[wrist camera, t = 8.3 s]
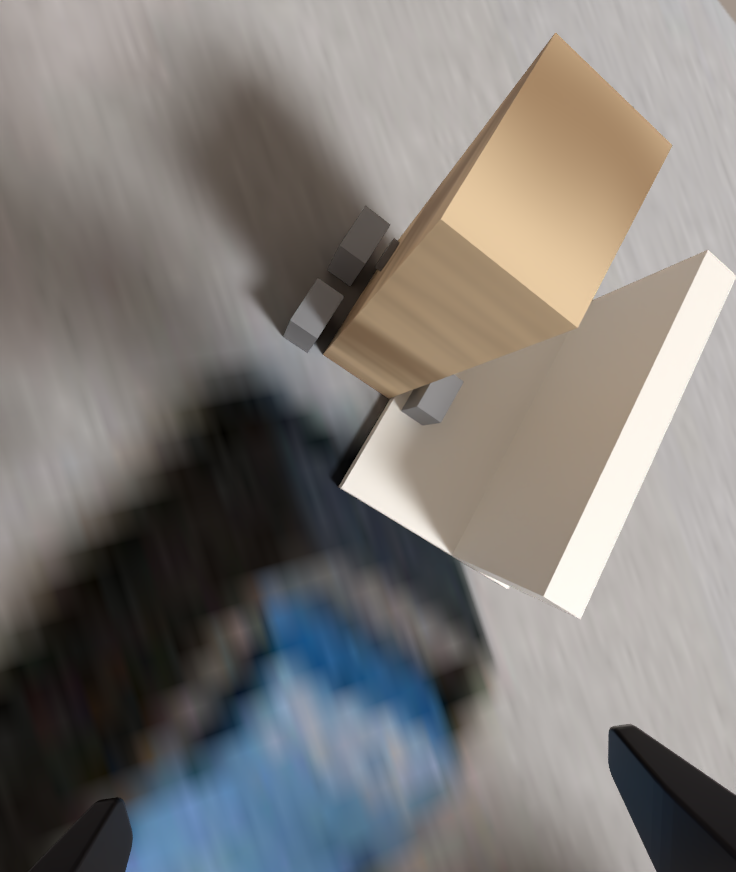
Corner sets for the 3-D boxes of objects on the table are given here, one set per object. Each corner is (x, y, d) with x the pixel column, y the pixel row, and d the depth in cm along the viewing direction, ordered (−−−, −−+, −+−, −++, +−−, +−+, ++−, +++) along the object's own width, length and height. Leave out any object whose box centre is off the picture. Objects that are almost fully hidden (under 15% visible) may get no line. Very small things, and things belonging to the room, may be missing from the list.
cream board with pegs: (500, 585, 22) (617, 642, 15) (228, 420, 19) (224, 400, 12) (620, 344, 25) (765, 302, 18) (396, 164, 22) (470, 31, 15)
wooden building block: (388, 398, 21) (577, 327, 9) (318, 351, 20) (430, 210, 9) (441, 309, 22) (672, 145, 10) (375, 260, 21) (546, 23, 10)
